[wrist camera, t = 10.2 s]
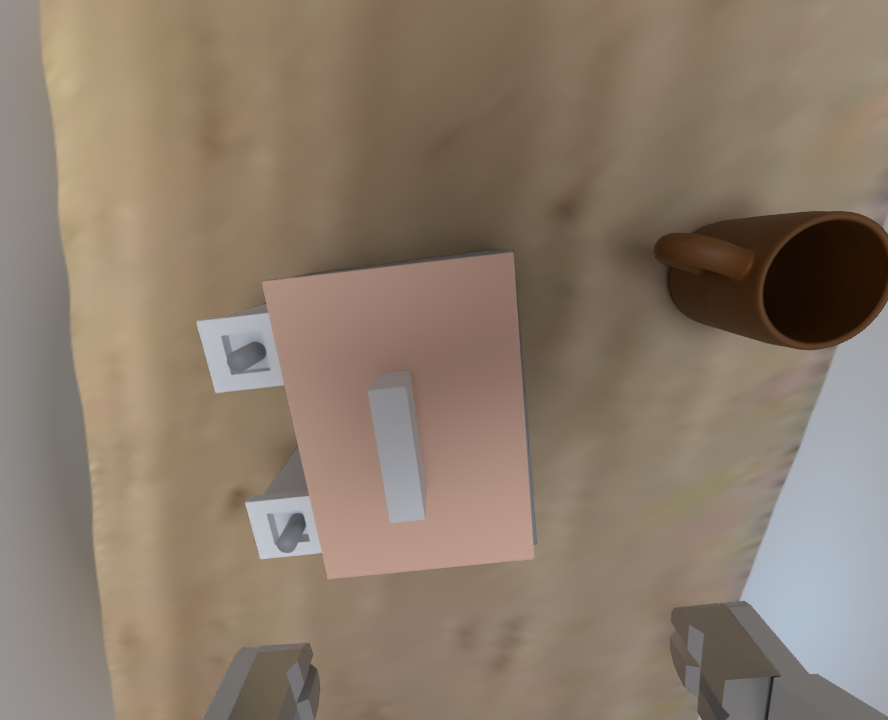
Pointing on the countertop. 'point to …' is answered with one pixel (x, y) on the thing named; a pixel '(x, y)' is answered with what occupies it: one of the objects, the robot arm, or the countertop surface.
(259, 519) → the door
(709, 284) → the mug
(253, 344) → the cabinet
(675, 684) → the countertop surface
